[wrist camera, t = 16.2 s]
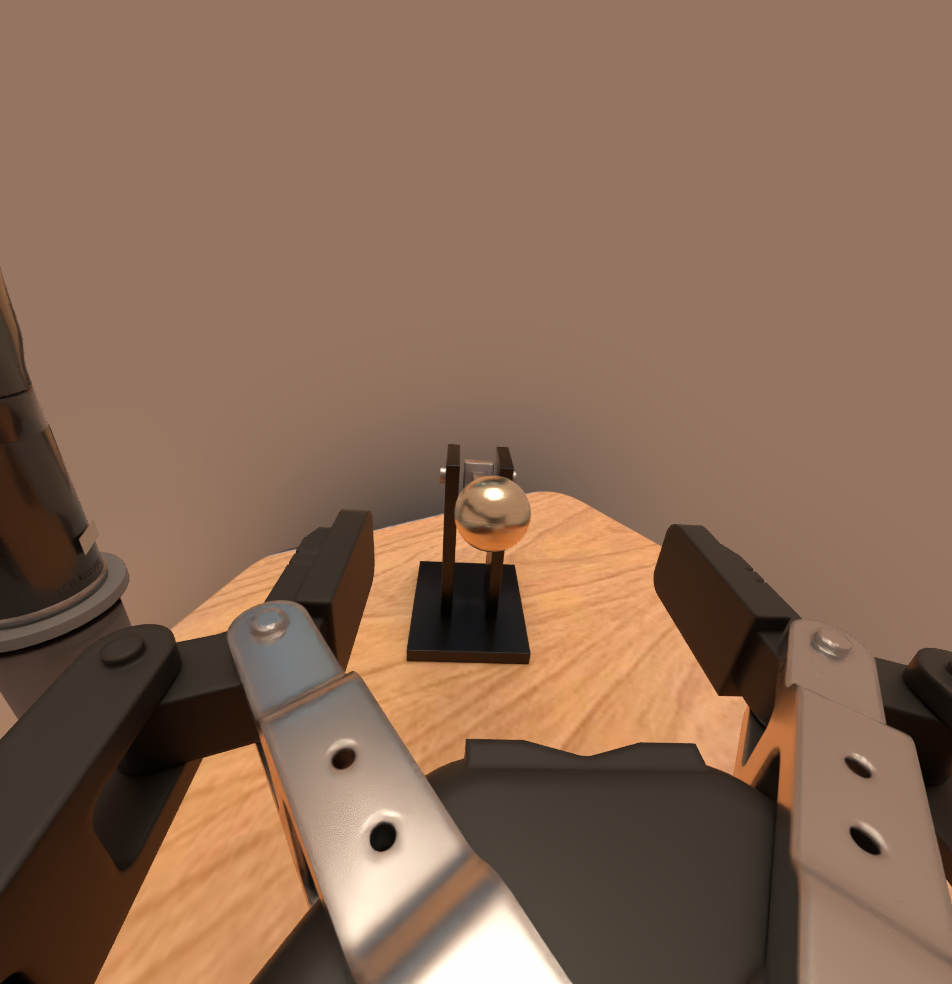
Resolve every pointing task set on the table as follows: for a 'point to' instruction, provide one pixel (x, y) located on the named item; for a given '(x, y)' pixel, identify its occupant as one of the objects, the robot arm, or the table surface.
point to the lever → (490, 509)
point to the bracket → (467, 594)
